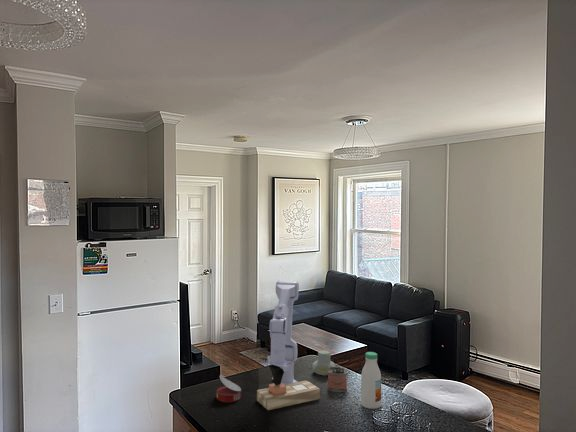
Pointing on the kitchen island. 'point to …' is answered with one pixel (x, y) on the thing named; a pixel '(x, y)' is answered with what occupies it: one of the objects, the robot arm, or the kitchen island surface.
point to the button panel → (288, 396)
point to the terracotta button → (277, 389)
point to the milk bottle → (371, 382)
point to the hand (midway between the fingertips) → (277, 384)
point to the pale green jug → (323, 363)
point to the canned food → (228, 391)
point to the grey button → (299, 387)
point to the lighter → (337, 379)
